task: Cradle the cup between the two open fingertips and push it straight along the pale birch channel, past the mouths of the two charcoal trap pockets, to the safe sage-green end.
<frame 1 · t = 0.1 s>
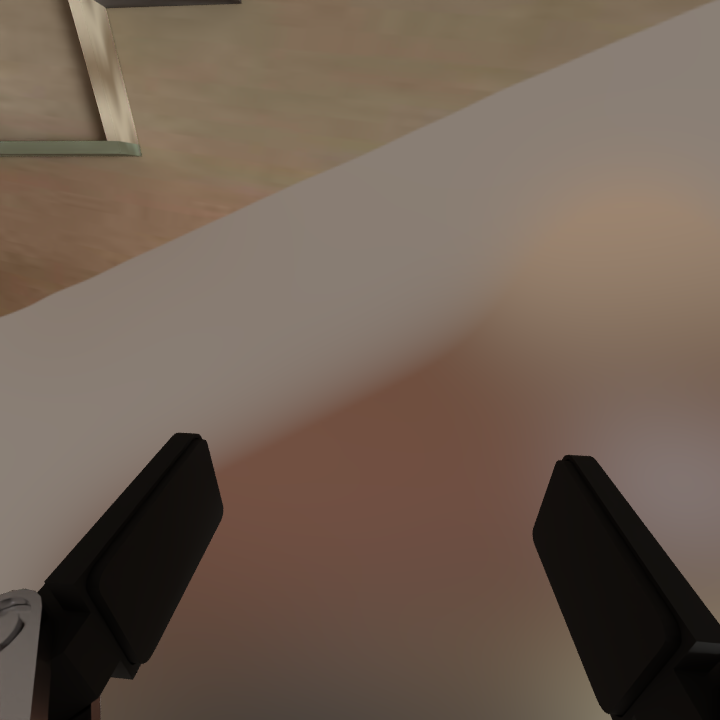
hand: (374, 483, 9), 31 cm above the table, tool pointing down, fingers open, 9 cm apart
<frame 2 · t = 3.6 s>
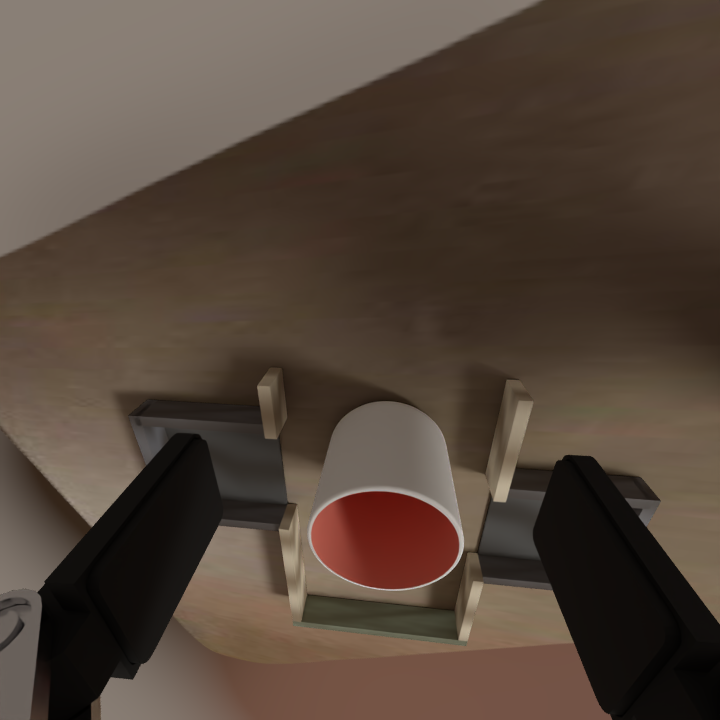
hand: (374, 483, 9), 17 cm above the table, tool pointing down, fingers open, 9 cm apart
cup: (387, 440, 31), on the table
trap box: (383, 525, 36), on the table
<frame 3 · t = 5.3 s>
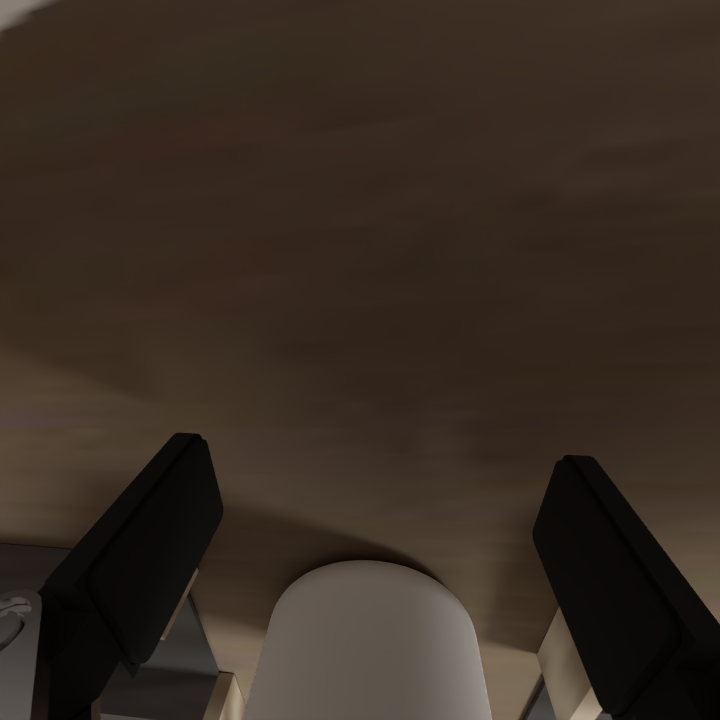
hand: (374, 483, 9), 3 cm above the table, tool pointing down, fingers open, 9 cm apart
cup: (372, 603, 18), on the table
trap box: (369, 702, 23), on the table
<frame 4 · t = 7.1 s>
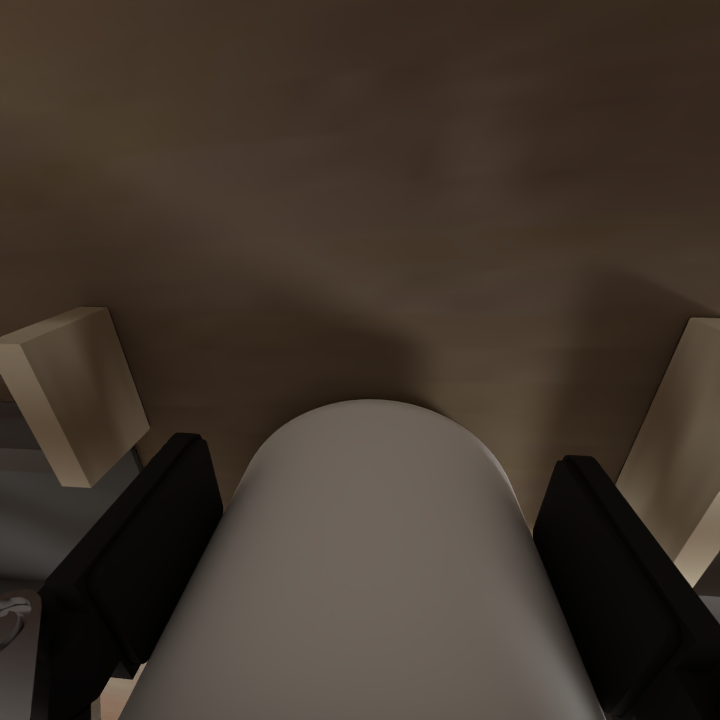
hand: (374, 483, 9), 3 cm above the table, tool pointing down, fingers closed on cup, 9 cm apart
cup: (375, 484, 14), on the table, touching gripper
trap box: (374, 626, 19), on the table
when the fingers open (3 cm above the table, at t = 11.2 s): cup stays where it is, on the table.
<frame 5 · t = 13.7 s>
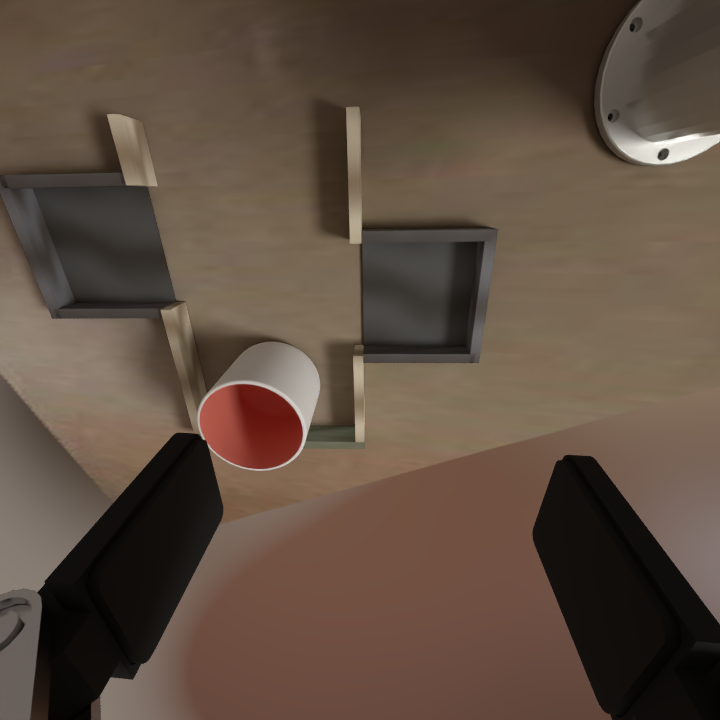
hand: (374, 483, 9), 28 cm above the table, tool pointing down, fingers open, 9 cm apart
cup: (279, 376, 40), on the table
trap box: (270, 319, 37), on the table
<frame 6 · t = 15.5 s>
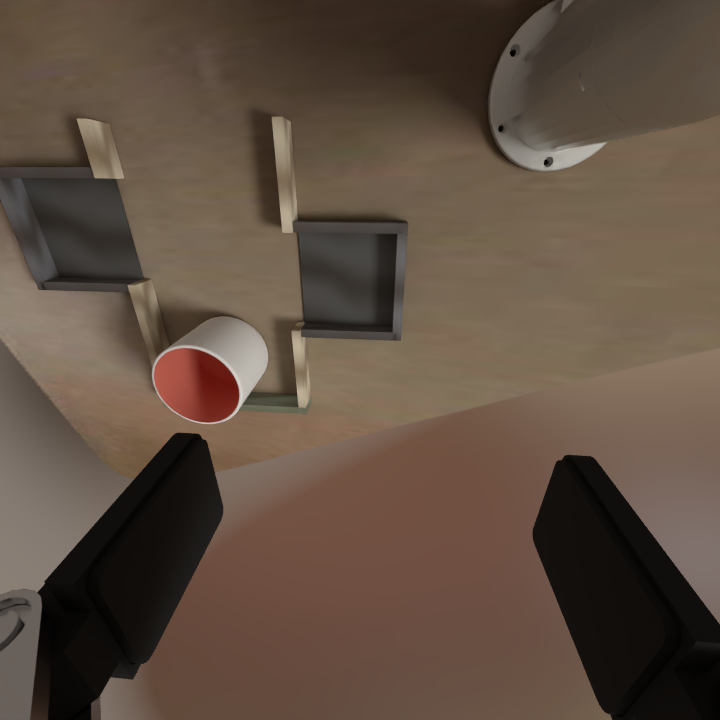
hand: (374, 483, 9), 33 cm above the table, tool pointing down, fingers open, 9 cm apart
cup: (235, 348, 46), on the table
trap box: (224, 296, 43), on the table
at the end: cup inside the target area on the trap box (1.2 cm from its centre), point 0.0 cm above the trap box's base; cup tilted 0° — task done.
